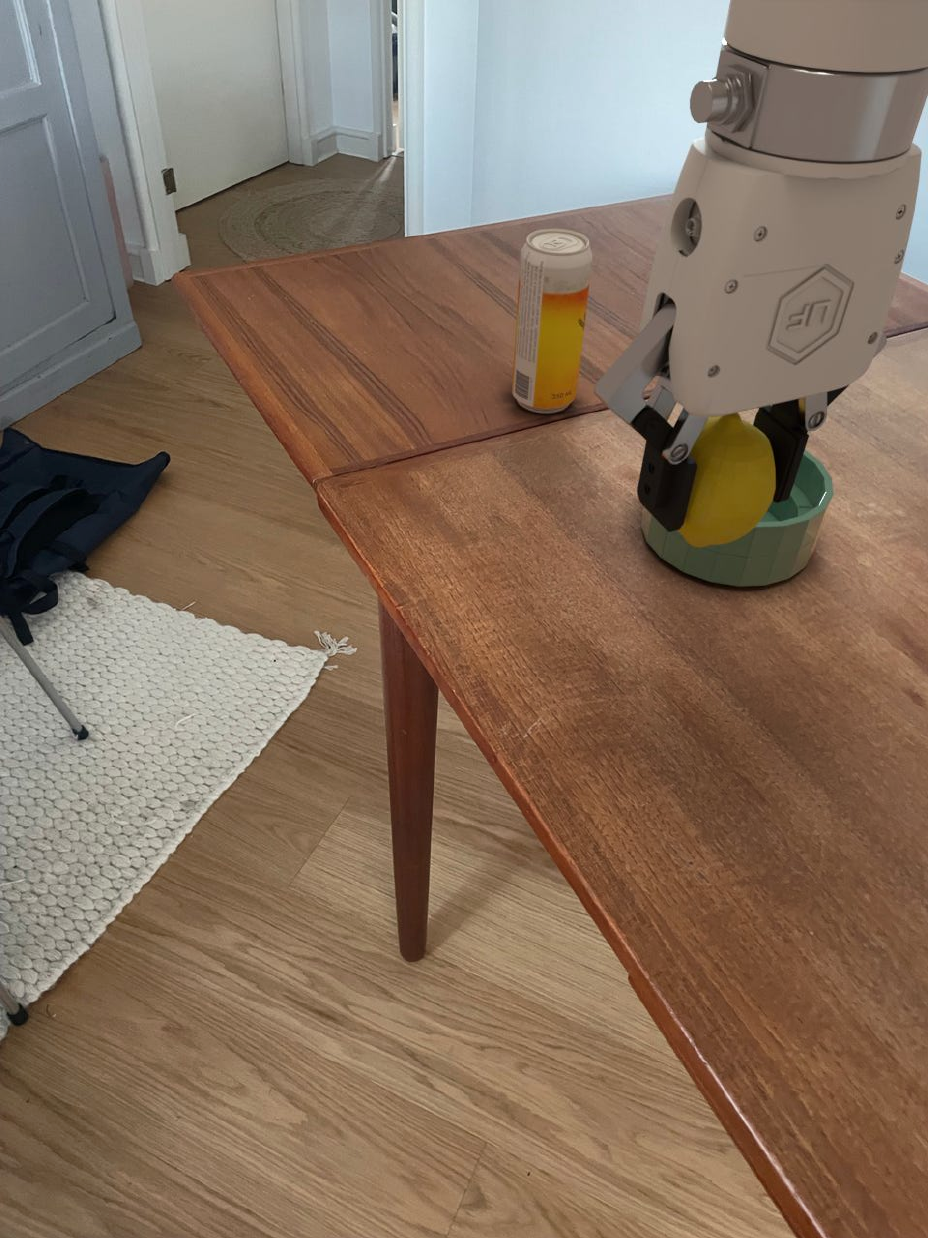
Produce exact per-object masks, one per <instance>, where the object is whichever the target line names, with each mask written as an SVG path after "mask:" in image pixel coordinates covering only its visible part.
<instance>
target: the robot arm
mask: <svg viewBox="0 0 928 1238" xmlns="http://www.w3.org/2000/svg"><path fill="white" fill-rule="evenodd" d="M716 67H717V68H716V73H715V76H714V77H712V78H711V79H709V80H701V81H698V82H696V84H695V85H694V86H693V89H692V90H691V93H690V98H689V110H690V115H691V117H692V119H693V120H694V122H696V123H697V124H704V123H706V126H705V132H704V136H703V137H699V138H696V139H694V140H693V141H692V142H691V145H690V148H689V150H688V152H687V156H686V158H685V161H684V162H683V165H682V168H681V170H680V173H679V177H678V179H677V182H676V185H675V187H674V191H673V193H672V195H671V199H670V203H669V206H668V209H667V212H666V216H665V219H664V222H663V225H662V229H661V231H660V236H659V238H658V243H657V248H656V250H655V253H654V258H653V262H652V266H651V271H650V274H649V278H648V279H649V280H648V283H647V288H646V292H645V298H644V302H643V308H642V313H641V318H640V325H639V330H638V334H637V335H636V337H635V338H634V339H633V340H632V341H631V343H629V345H628V346H627V347H626V348H625V350H624V351H623V352H622V353H621V354H620V355H619V357H617V359H616V360H615V361H614V362H613V363H612V365H610V367H609V368H608V369H607V370H606V371H605V373H604V374H603V375H602V376H601V378H599V380H598V381H597V383H596V384H595V386H594V388H593V389H594V390H593V392H594V396H595V397H596V398H597V399H598V400H600V402H602V404H603V405H605V407H607V409H608V410H610V411H611V412H612V413H613V414H615V415H616V417H618V418H620V419H621V421H623V422H624V423H626V425H628V426H629V427H630V428H632V429H633V430H634V431H635V432H636V433H638V434H639V435H640V436H641V437H642V438H643V439H644V440H645V445H644V449H643V457H642V461H641V466H640V471H639V476H638V481H637V487H636V494H637V500H638V502H639V504H641V505H642V506H643V508H644V507H645V508H646V509H647V510H648V511H649V512H650V513H651V514H652V516H653V517H654V518H655V519H656V520H657V521H658V522H659V523H660V524H661V525H662V526H663V527H664V528H665V529H666V530H667V531H668V532H672V531H676V530H679V529H681V527H682V526H683V524H684V521H685V517H686V512H687V508H688V504H689V500H690V496H691V491H692V487H693V483H694V479H695V475H696V470H697V463H696V461H695V460H694V459H693V458H692V457H691V456H690V455H689V454H690V452H691V450H692V448H693V446H694V444H695V443H696V441H697V439H698V437H699V435H700V433H701V431H702V430H703V428H704V426H705V424H706V422H707V420H708V418H711V417H718V416H724V415H729V414H733V413H738V414H739V413H742V412H747V411H751V410H756V409H758V410H757V412H756V413H755V416H754V420H753V423H752V425H753V426H755V427H756V428H757V429H759V430H760V431H761V432H763V433H764V434H765V435H766V437H767V438H768V439H769V441H770V444H771V447H772V450H773V455H774V462H775V468H776V489H775V493H774V497H773V501H774V502H776V503H779V502H783V501H786V500H788V499H789V497H790V494H791V491H792V487H793V484H794V481H795V478H796V475H797V472H798V469H799V466H800V463H801V460H802V457H803V454H804V451H805V449H806V447H807V445H808V441H809V438H810V434H809V432H814V431H817V430H819V429H820V428H821V427H822V426H823V425H824V423H825V422H826V419H827V418H828V417H827V416H828V407H829V406H830V405H831V404H832V403H833V402H834V401H835V400H836V399H837V398H838V397H839V396H840V395H841V394H842V393H843V392H845V390H846V389H847V388H848V387H849V386H850V385H851V384H853V383H855V382H856V381H858V380H859V379H861V378H862V377H863V376H864V375H865V374H866V373H867V371H868V370H869V368H870V366H871V364H872V362H873V360H874V358H875V357H877V355H879V353H881V352H882V350H884V349H885V346H886V344H887V341H888V337H887V335H886V333H885V331H884V329H885V326H886V322H887V319H888V316H889V313H890V310H891V306H892V303H893V299H894V296H895V293H896V290H897V286H898V282H899V278H900V275H901V272H902V269H903V268H902V267H903V264H904V260H905V257H906V253H907V248H908V243H909V239H910V236H911V235H910V234H911V231H912V226H913V225H912V224H913V220H914V215H915V211H916V204H917V198H918V191H919V186H920V179H921V178H920V177H921V168H922V167H921V166H922V156H923V155H922V154H923V152H922V149H921V148H920V147H919V146H918V145H917V144H915V143H914V142H913V140H914V138H915V135H916V133H917V130H918V126H919V123H920V121H921V117H922V114H923V111H924V108H925V105H926V102H927V99H928V0H729V4H728V10H727V15H726V20H725V26H724V31H723V39H722V42H721V47H720V51H719V56H718V63H717V66H716ZM655 377H658V380H657V381H656V384H655V386H654V388H653V390H652V392H651V394H650V395H649V398H648V400H647V401H646V400H645V398H644V392H645V389H646V388H647V386H648V385H649V384H650V383H651V382H652V381H653V380H654V378H655ZM677 404H679V405H680V406H681V407H682V410H681V411H680V413H679V415H678V417H677V419H676V421H675V423H674V425H673V426H672V425H671V424H670V423H669V422H668V421H669V419H670V417H671V415H672V413H673V411H674V409H675V407H676V406H677Z"/></svg>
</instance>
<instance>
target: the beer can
mask: <svg viewBox="0 0 928 1238" xmlns="http://www.w3.org/2000/svg"><path fill="white" fill-rule="evenodd" d="M525 239H526V241H525V243H524V244H523V246H522V248H521V250H520V261H519V273H518V275H519V276H518V287H517V288H518V289H517V290H518V291H517V292H518V293H517V304H516V306H517V307H516V320H515V337H514V351H513V364H512V365H513V367H512V382H511V393H512V396H513V398H514V399H515V400H516V401H517V403H518V405H519V406H521V408H522V409H525V410H527V411H530V412H532V413H538V414H555V413H559V412H562V411H564V410H565V409H567V408H568V407H569V406H570V404H571V403H573V402H574V401H575V399H577V398H576V397H577V393H578V384H579V376H580V375H579V374H580V367H581V359H582V351H583V350H582V349H583V341H584V333H585V326H586V325H585V324H586V316H587V307H588V301H589V300H588V299H589V292H590V283H591V282H590V281H591V275H592V274H591V273H592V266H593V257H594V255H593V252H592V249H591V246H590V240H589V238H588V237H587V236H585V235H584V234H582V233H580V232H577V231H574V230H570V229H563V228H545V229H544V228H543V229H539V230H535V231H533V232H531V233H529V234H528V235H527V237H526V238H525Z"/></svg>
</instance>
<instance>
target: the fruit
mask: <svg viewBox="0 0 928 1238" xmlns="http://www.w3.org/2000/svg"><path fill="white" fill-rule="evenodd" d="M741 418H742V417H741V416H740V413H739V412H738V413H733V414H729V415H724V416H718V417H710V418H708V420H707V422H706V424H705V426H704V428H703V430H702V431H701V433H700V435H699V437H698V439H697V441H696V443H695V444H694V446H693V448H692V450H691V452H690V454H689V455H690V456H691V457H692V458H693V459H694V460H695V461H696V463H697V470H696V475H695V479H694V483H693V487H692V491H691V496H690V500H689V504H688V508H687V512H686V517H685V521H684V524H683V526H682V527H681V529H679V530H677V531H678V532H679V533H680V534H681V535H683V536H684V538H685V540H686V541H687V542H688V543H689V544H691V545H692V546H695V547H706V546H708V545H720V544H725V543H729V542H732V541H734V540H737V539H739V538H740V537H742V536H744V535H746V534H747V533H748V532H750V531H751V530H752V529H753V528H755V527H756V525H757V524H758V523H759V521H760V520H761V519H762V517H763V516H764V514H765V513H766V511H767V510H768V508H769V506H770V505H771V503H772V501H773V497H774V493H775V489H776V468H775V462H774V455H773V450H772V447H771V444H770V441H769V439H768V438H767V437H766V435H765V434H764V433H763V432H761V431H760V430H759V429H757V428H756V427H755V426H753V423H750V422H749V421H746V420H744V419H741Z"/></svg>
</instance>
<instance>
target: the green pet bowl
mask: <svg viewBox="0 0 928 1238" xmlns="http://www.w3.org/2000/svg"><path fill="white" fill-rule="evenodd" d="M834 495H835V494H834V485H833V477H832V476H831V475H830V473H829V471H828V469H827V468H826V467H825V465H824V463H823V462H822V461H820V460H819V459H818V458H817V457H816V456H814V455H813V454H812V453H811V452H809V451H808V450H807V449H806V448H805V451H804V454H803V457H802V460H801V463H800V466H799V469H798V472H797V475H796V478H795V481H794V484H793V487H792V491H791V494H790V497H789V499H788V500H786V501H783V502H779V503H776V502H774V501H772V503H771V505H770V506H769V508H768V510H767V511H766V513H765V514H764V516H763V517H762V519H761V520H760V521H759V523H758V524H757V525H756V527H755V528H753V529H752V530H751V531H750V532H748V533H747V534H746V535H744V536H742V537H740V538H739V539H737V540H734V541H732V542H729V543H725V544H720V545H708V546H706V547H695V546H692V545H691V544H689V543H688V542H687V541H686V540H685V538H684V536H683V535H681V534H680V533H679V532H678V531H677V530H676V531H672V532H668V531H667V530H666V529H665V528H664V527H663V526H662V525H661V524H660V523H659V522H658V521H657V520H656V519H655V518H654V517H653V516H652V514H651V513H650V512H649V511H648V510H647V509H646V508H645V507H644V506H643V509H642V514H641V520H640V521H641V522H640V527H641V531H642V533H643V535H644V539H645V541H646V543H647V544H648V545H649V547H651V549H652V550H653V551H654V552H655V553H656V555H658V557H660V558H661V560H664V561H665V562H667V563H668V564H670V565H672V566H673V567H674V568H676V569H678V570H679V571H681V572H683V573H685V574H687V575H689V576H692V577H696V578H698V579H701V580H703V581H706V582H710V583H715V584H720V585H727V586H732V587H733V586H734V587H739V588H740V587H759V586H761V587H762V586H769V585H772V584H775V583H779V582H783V581H786V580H789V579H791V578H792V577H793V576H794V575H796V574H797V573H800V571H802V570H804V568H806V567H807V564H808V563H809V561H810V559H811V557H812V556H813V553H814V550H815V548H816V545H817V542H818V540H819V536H820V533H821V531H822V529H823V525H824V522H825V520H826V517H827V515H828V512H829V509H830V506H831V503H832V500H833V498H834Z"/></svg>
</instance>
